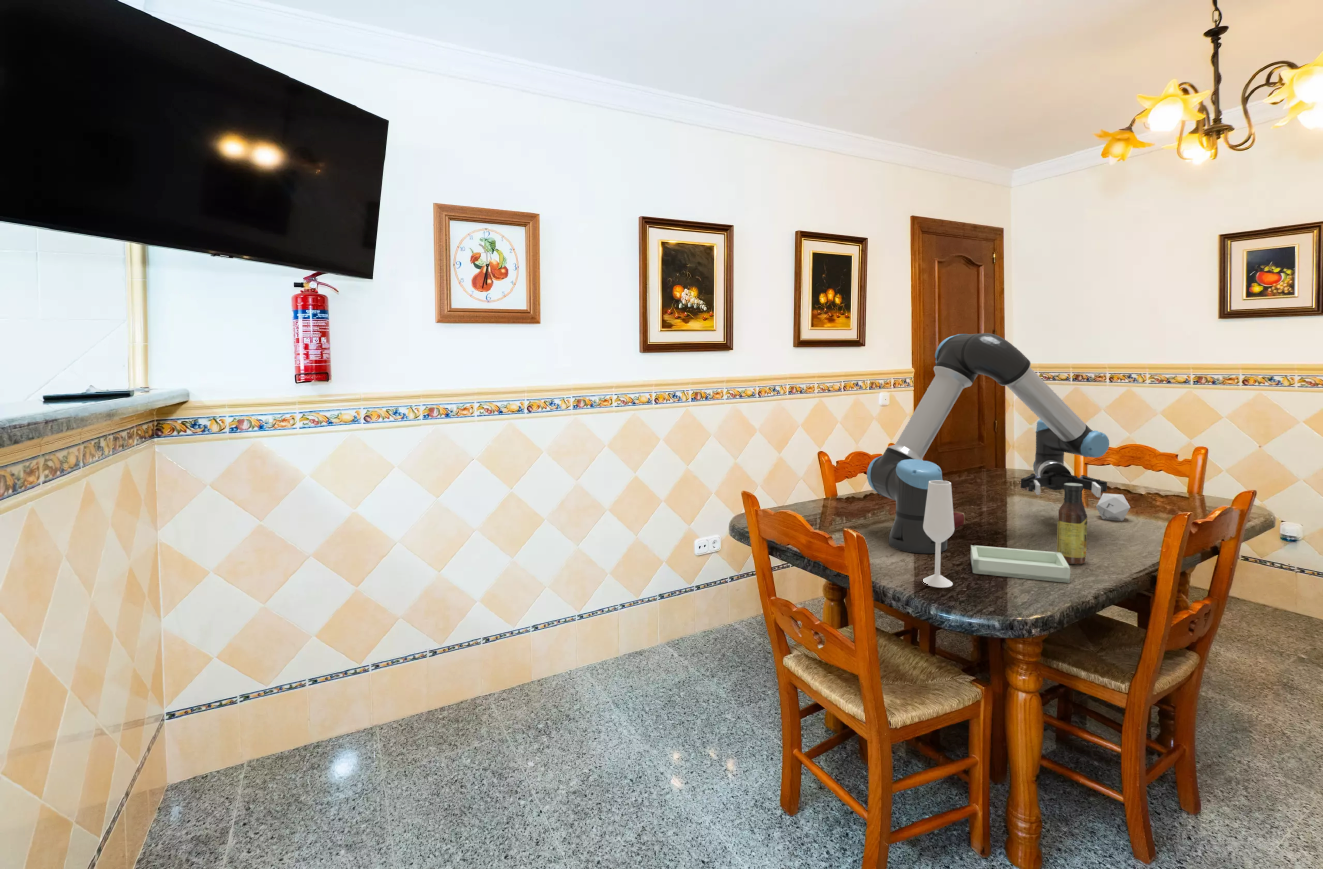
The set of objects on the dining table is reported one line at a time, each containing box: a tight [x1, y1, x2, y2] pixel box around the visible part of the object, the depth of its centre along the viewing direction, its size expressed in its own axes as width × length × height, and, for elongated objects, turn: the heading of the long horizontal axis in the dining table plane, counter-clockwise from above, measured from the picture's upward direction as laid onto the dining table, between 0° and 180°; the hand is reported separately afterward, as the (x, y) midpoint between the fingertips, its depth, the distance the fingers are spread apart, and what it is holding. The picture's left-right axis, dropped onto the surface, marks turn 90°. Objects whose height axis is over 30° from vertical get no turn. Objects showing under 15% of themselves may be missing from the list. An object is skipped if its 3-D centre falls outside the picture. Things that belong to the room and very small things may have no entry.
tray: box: [970, 544, 1071, 584], centre depth 153 cm, size 20×12×4 cm, turn 66°
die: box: [1095, 492, 1131, 522], centre depth 193 cm, size 8×9×10 cm
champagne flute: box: [922, 480, 956, 588], centre depth 145 cm, size 7×7×24 cm
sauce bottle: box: [1056, 483, 1088, 565], centre depth 156 cm, size 7×6×20 cm
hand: (1068, 491), depth 165 cm, fingers open, 13 cm apart
